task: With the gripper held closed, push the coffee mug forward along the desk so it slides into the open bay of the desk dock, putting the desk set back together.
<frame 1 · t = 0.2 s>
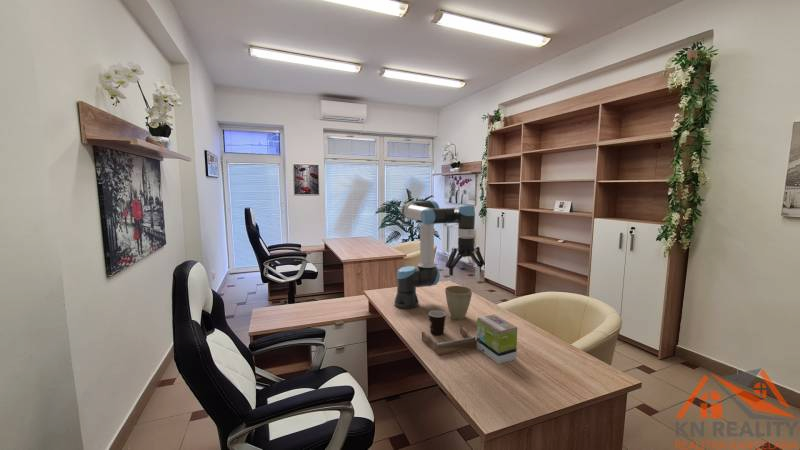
hand: (465, 280, 154), 28 cm above the table, fingers open, 13 cm apart
organizer: (449, 343, 148), on the table
tea box: (495, 354, 139), on the table
plant pot: (458, 317, 179), on the table
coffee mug: (437, 331, 160), on the table
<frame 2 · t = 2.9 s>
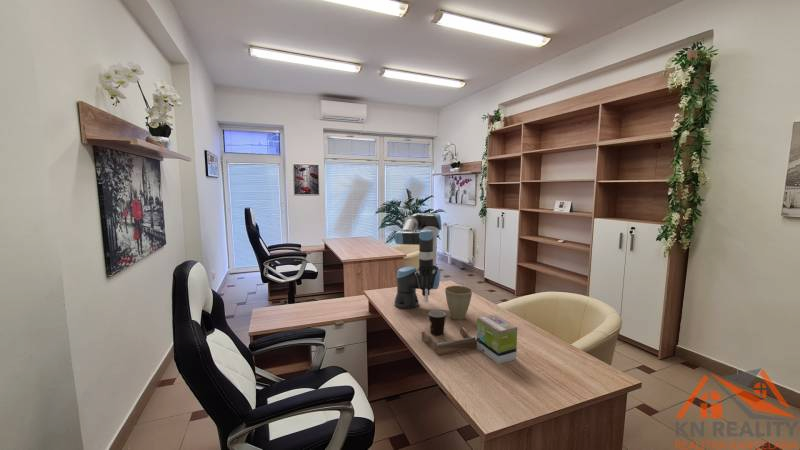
hand: (425, 301, 173), 11 cm above the table, fingers closed
nothing on the table moved.
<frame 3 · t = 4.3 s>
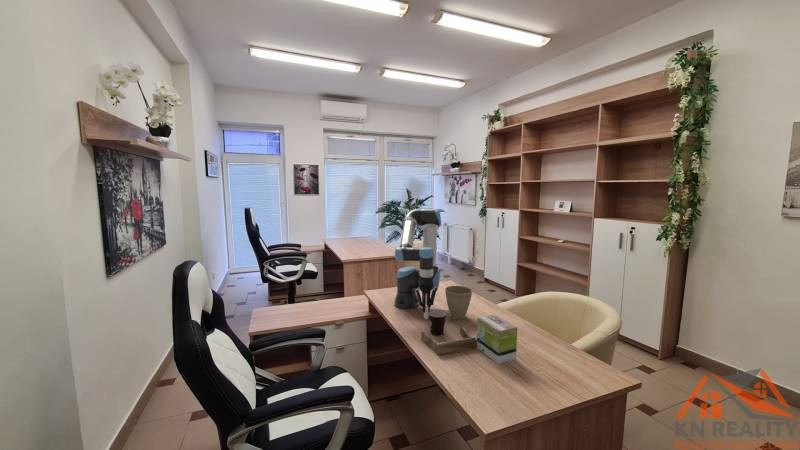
hand: (425, 317, 174), 1 cm above the table, fingers closed
nothing on the table moved.
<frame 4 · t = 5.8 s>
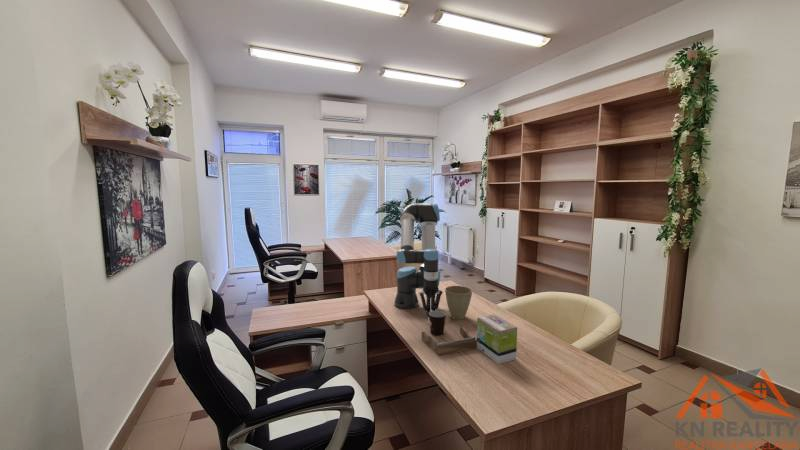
hand: (430, 322, 168), 2 cm above the table, fingers closed
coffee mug: (437, 332, 160), on the table, touching gripper
everything else where it was.
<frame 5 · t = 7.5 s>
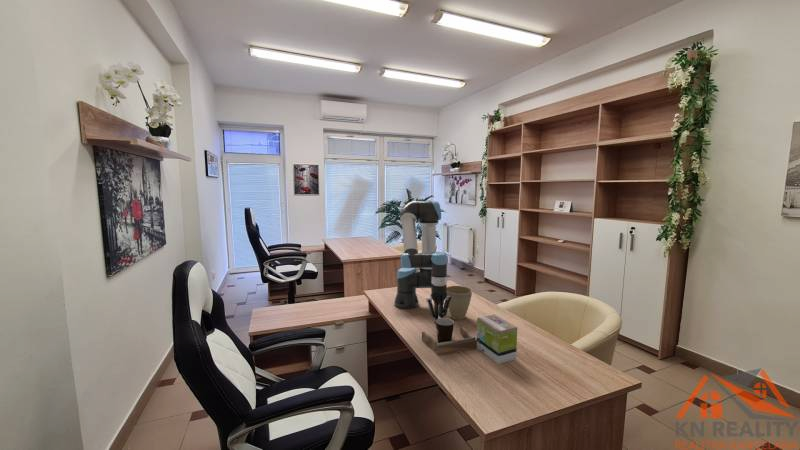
hand: (438, 329, 159), 2 cm above the table, fingers closed
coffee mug: (445, 340, 151), on the table, touching gripper
everything else where it was.
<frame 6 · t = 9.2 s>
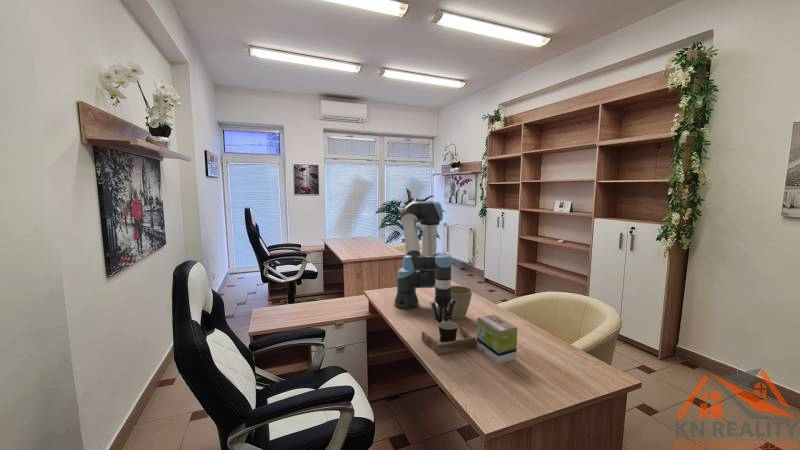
hand: (442, 333, 155), 1 cm above the table, fingers closed
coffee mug: (448, 345, 147), on the table, touching gripper
everything else where it was.
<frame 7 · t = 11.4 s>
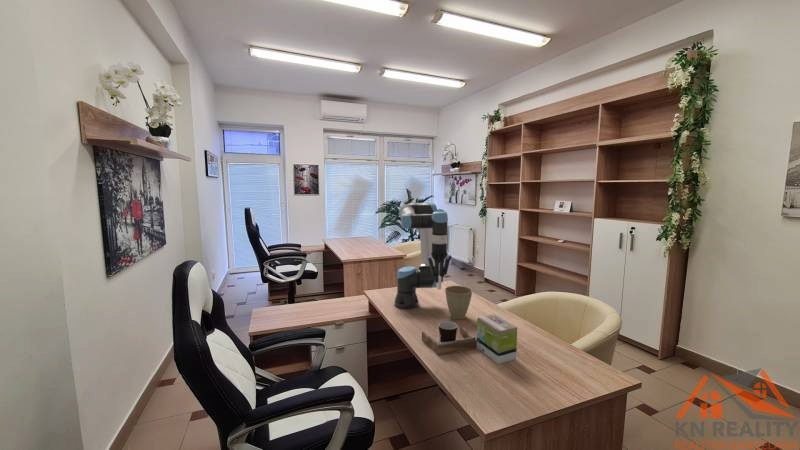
hand: (438, 288, 161), 22 cm above the table, fingers closed
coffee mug: (448, 345, 147), on the table
everything else where it was.
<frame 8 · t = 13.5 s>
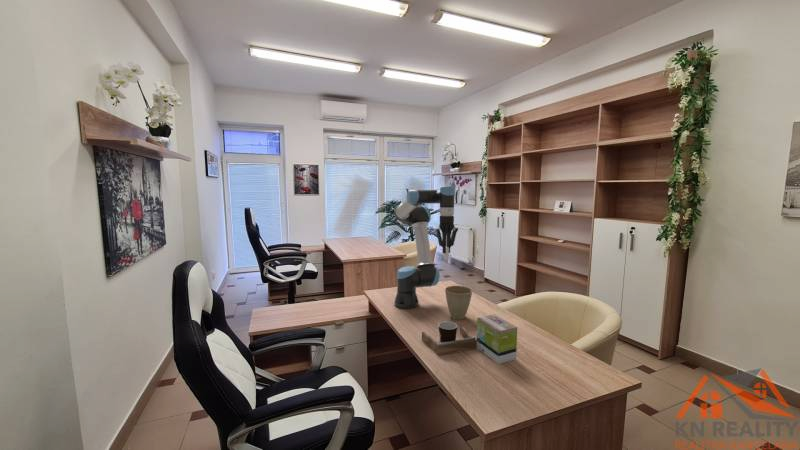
hand: (446, 259, 170), 34 cm above the table, fingers closed
nothing on the table moved.
at the end: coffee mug inside the target area on the organizer (1.6 cm from its centre), point 0.0 cm above the organizer's base; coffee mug tilted 0°; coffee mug moved 14.1 cm from its start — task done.
